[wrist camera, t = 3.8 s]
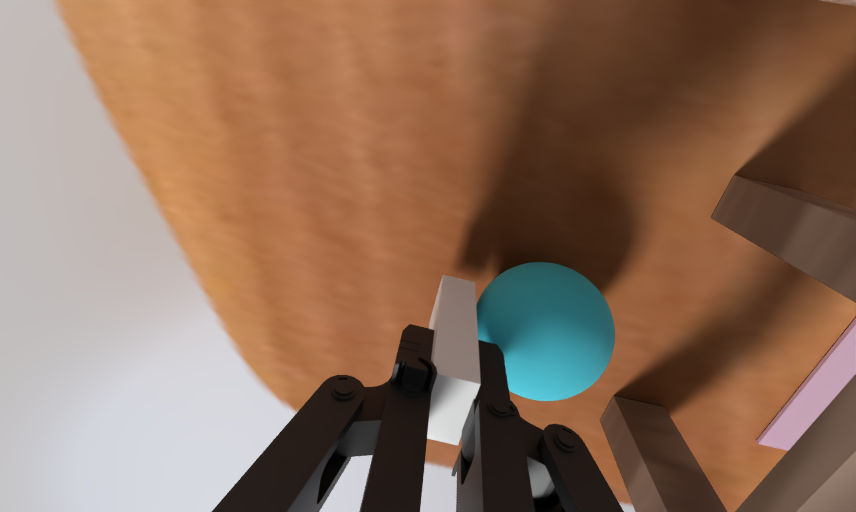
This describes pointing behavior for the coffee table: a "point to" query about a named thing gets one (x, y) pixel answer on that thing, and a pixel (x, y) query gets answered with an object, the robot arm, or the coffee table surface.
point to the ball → (547, 329)
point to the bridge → (826, 437)
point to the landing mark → (814, 393)
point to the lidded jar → (842, 2)
